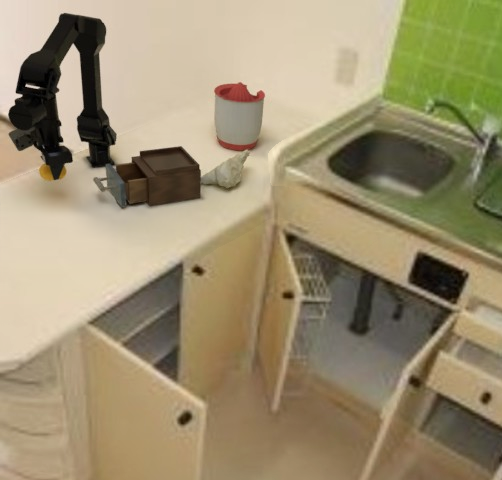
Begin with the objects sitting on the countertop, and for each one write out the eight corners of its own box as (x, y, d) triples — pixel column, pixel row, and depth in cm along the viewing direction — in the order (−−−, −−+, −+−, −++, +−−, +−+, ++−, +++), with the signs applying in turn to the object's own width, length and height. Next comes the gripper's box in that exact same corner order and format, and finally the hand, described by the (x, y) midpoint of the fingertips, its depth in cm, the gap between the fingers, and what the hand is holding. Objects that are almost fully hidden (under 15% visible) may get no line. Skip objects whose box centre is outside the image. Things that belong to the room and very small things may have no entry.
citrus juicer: (273, 143, 212) (279, 82, 200) (241, 158, 200) (244, 95, 188) (236, 128, 218) (239, 69, 206) (202, 142, 205) (203, 80, 193)
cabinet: (149, 206, 169) (148, 177, 164) (132, 185, 177) (131, 156, 172) (200, 198, 176) (200, 170, 171) (182, 177, 184) (182, 150, 179)
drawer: (104, 209, 163) (102, 186, 159) (91, 189, 171) (88, 166, 167) (171, 199, 172) (170, 176, 168) (155, 180, 179) (154, 157, 175)
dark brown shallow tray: (156, 176, 165) (156, 170, 164) (139, 156, 173) (139, 150, 172) (199, 170, 171) (199, 164, 170) (181, 151, 179) (181, 145, 178)
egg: (42, 185, 159) (40, 168, 156) (38, 177, 162) (36, 161, 159) (69, 181, 162) (67, 165, 159) (64, 173, 165) (62, 158, 162)
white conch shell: (210, 203, 179) (254, 173, 176) (194, 180, 177) (239, 150, 174) (220, 194, 193) (261, 167, 190) (206, 173, 191) (247, 145, 188)
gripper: (0, 103, 154) (10, 164, 163) (18, 134, 142) (28, 197, 151) (48, 100, 159) (56, 158, 169) (69, 129, 147) (76, 190, 157)
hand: (53, 175), depth 161 cm, fingers closed on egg, 4 cm apart
